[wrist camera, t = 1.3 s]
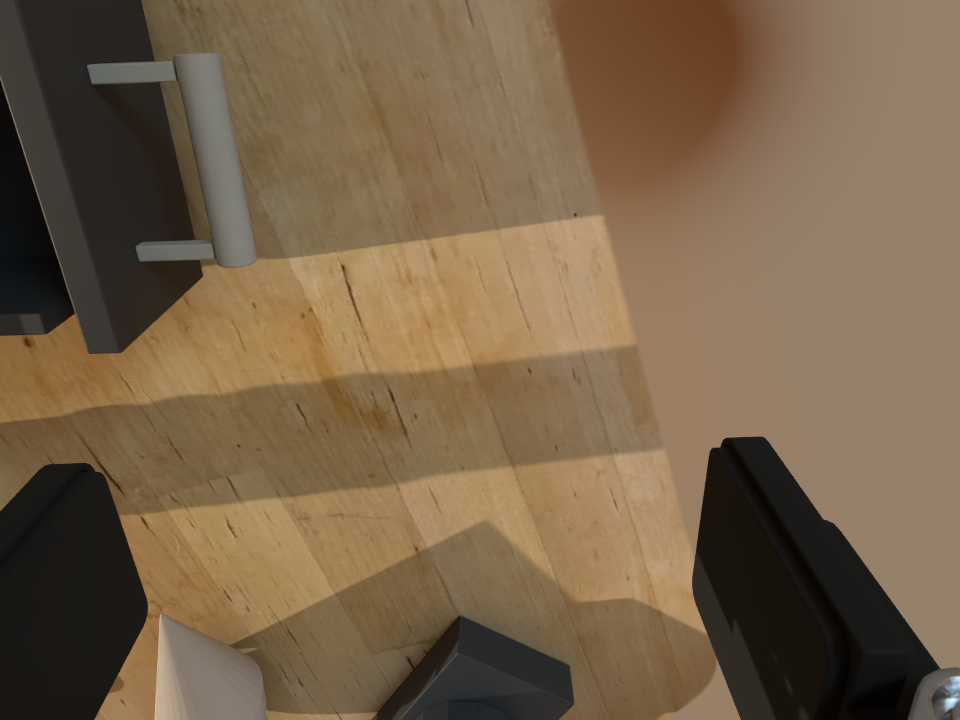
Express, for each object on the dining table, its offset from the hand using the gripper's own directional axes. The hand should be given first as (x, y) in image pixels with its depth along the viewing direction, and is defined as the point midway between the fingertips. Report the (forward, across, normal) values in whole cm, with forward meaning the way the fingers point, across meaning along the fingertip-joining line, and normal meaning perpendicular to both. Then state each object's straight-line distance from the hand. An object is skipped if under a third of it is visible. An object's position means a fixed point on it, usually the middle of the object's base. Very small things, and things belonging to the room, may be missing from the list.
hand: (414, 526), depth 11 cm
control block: (+22, +1, +32) cm, 39 cm away
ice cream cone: (+22, +15, +27) cm, 38 cm away
